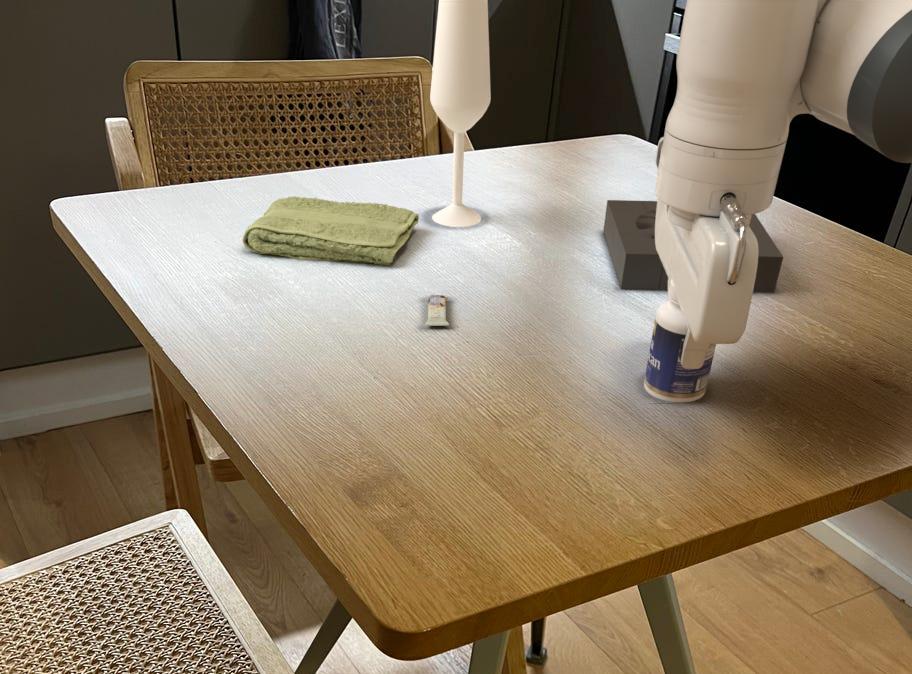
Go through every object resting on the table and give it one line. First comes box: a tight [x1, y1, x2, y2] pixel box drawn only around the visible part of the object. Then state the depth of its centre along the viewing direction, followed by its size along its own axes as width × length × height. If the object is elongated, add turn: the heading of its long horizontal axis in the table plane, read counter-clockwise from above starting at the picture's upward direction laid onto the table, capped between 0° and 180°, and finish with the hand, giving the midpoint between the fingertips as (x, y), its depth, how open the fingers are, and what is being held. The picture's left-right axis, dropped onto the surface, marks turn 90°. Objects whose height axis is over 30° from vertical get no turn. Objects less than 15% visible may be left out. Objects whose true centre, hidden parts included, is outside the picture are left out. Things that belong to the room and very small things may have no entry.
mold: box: [602, 199, 784, 294], centre depth 105 cm, size 16×16×4 cm
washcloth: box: [242, 195, 420, 266], centre depth 108 cm, size 13×18×3 cm
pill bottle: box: [643, 279, 717, 403], centre depth 82 cm, size 5×5×10 cm
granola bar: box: [424, 294, 450, 327], centre depth 95 cm, size 7×2×1 cm, turn 0°
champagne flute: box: [429, 0, 492, 228], centre depth 107 cm, size 7×7×24 cm
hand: (682, 346), depth 82 cm, fingers closed on pill bottle, 5 cm apart
